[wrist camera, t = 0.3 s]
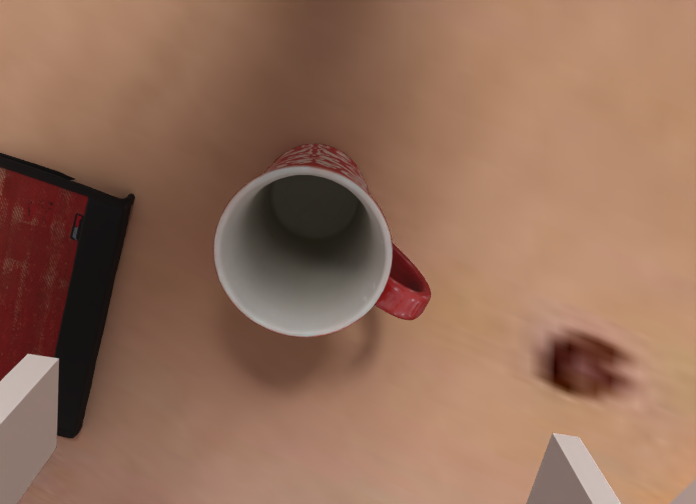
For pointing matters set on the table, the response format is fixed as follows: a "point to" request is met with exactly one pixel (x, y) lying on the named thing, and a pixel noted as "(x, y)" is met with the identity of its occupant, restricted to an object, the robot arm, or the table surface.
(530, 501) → the robot arm
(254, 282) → the mug
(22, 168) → the black and red tablet
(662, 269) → the table surface
